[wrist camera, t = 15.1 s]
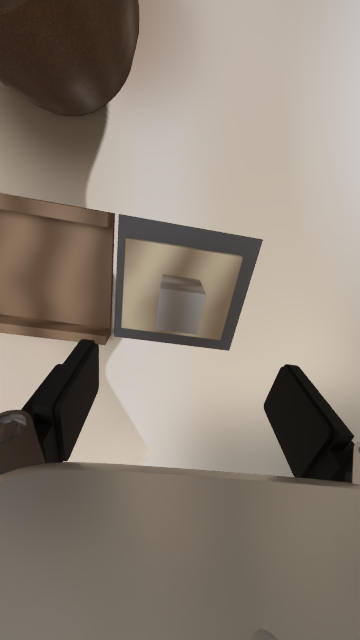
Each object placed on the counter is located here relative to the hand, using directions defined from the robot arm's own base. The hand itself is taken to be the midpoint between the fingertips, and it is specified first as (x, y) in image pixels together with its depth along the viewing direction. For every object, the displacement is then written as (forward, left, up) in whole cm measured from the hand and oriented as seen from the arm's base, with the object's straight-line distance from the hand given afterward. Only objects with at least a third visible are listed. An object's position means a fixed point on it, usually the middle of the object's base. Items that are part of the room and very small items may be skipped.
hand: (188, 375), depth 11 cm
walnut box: (+14, 0, -16) cm, 21 cm away
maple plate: (0, 0, -15) cm, 15 cm away
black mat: (0, 0, -16) cm, 16 cm away
